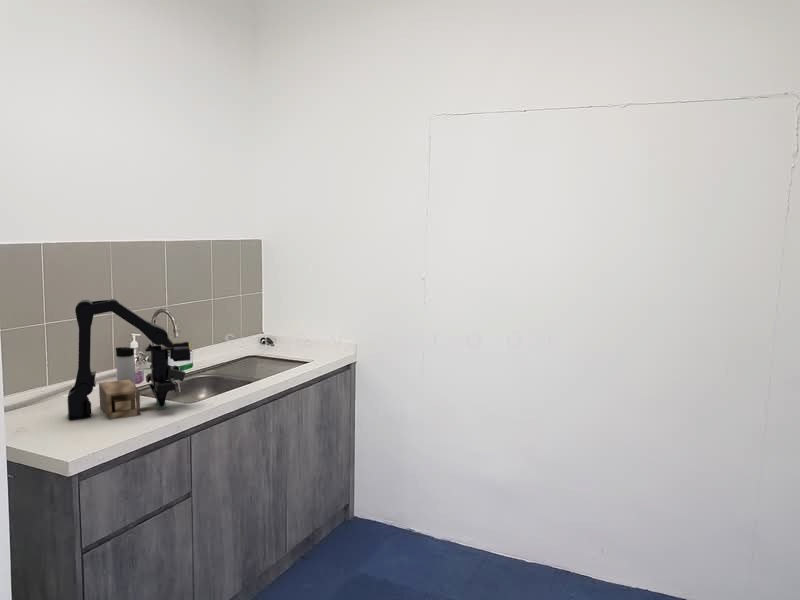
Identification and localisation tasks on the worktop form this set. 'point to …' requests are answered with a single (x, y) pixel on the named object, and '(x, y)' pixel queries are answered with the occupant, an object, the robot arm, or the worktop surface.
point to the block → (125, 404)
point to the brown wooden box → (115, 391)
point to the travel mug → (125, 364)
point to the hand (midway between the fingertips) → (161, 405)
